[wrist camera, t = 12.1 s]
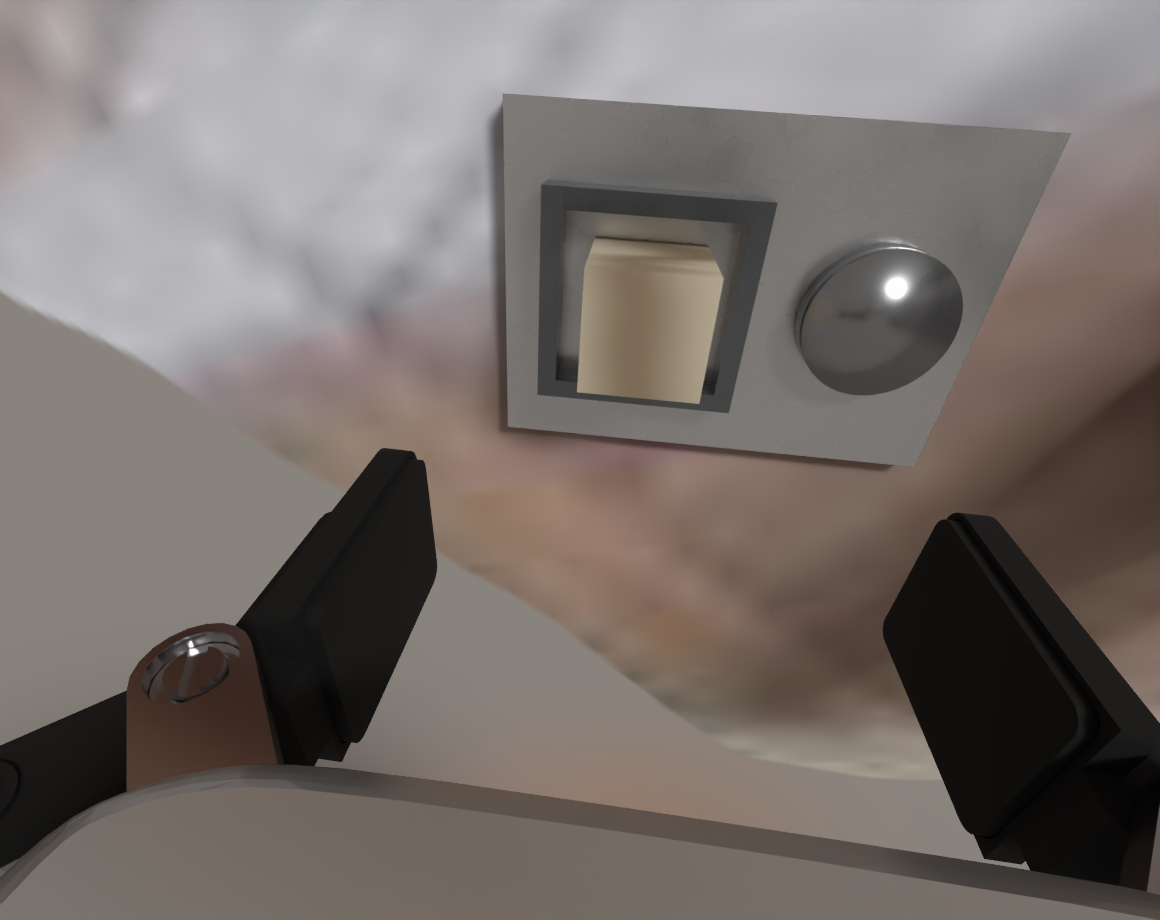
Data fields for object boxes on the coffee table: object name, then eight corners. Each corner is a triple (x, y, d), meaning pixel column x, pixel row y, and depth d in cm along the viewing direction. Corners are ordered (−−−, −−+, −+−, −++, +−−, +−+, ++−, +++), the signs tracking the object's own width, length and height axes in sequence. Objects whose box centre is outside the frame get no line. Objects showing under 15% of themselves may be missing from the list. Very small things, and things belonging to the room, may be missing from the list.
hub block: (708, 245, 22) (723, 279, 18) (690, 352, 25) (699, 403, 21) (595, 236, 23) (584, 267, 18) (588, 343, 25) (577, 392, 21)
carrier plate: (1053, 132, 20) (1101, 135, 18) (906, 456, 28) (927, 485, 26) (508, 94, 21) (493, 92, 19) (511, 417, 29) (501, 441, 27)
